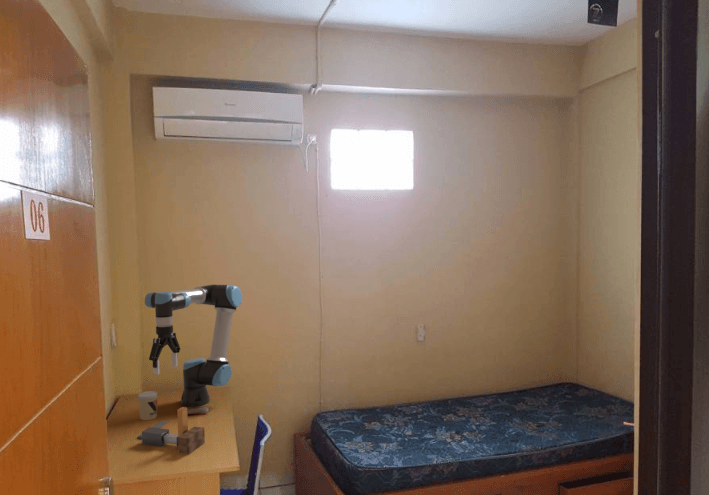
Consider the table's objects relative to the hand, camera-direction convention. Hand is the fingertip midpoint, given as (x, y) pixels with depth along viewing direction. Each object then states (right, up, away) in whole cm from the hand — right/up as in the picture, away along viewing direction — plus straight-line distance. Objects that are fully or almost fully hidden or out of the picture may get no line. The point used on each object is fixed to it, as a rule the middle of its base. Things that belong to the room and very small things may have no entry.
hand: (165, 370), depth 250 cm
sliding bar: (+9, -28, -16) cm, 34 cm away
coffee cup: (-15, -28, +19) cm, 37 cm away
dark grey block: (0, -29, -13) cm, 32 cm away
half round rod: (-7, -30, +2) cm, 30 cm away
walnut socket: (+18, -30, -18) cm, 39 cm away
